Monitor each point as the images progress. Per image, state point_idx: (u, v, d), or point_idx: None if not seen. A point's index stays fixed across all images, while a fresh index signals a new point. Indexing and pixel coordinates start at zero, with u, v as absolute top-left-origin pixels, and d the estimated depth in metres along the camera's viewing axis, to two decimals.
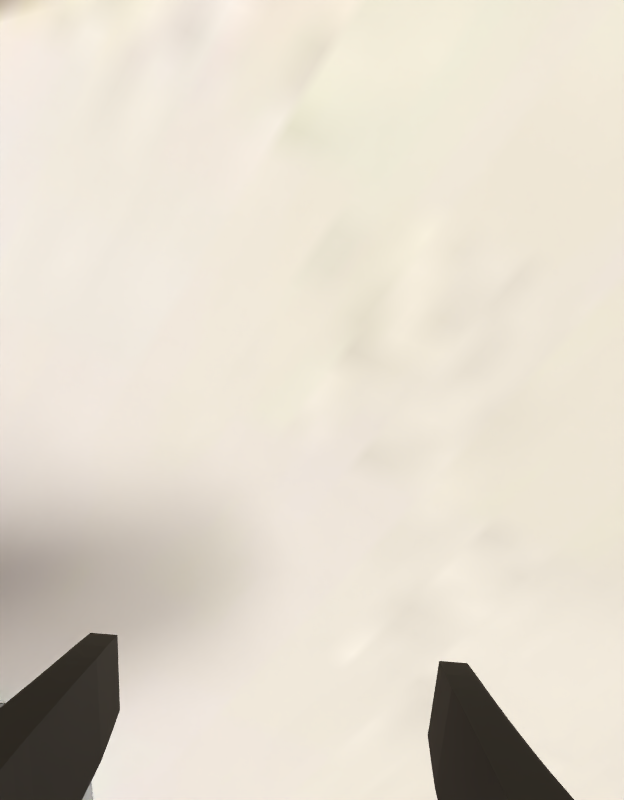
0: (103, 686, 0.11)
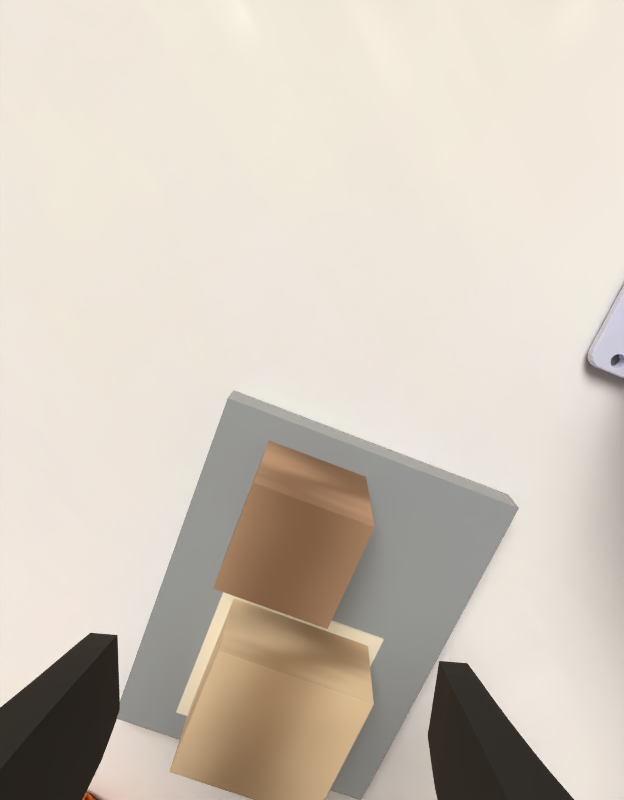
0: (103, 686, 0.11)
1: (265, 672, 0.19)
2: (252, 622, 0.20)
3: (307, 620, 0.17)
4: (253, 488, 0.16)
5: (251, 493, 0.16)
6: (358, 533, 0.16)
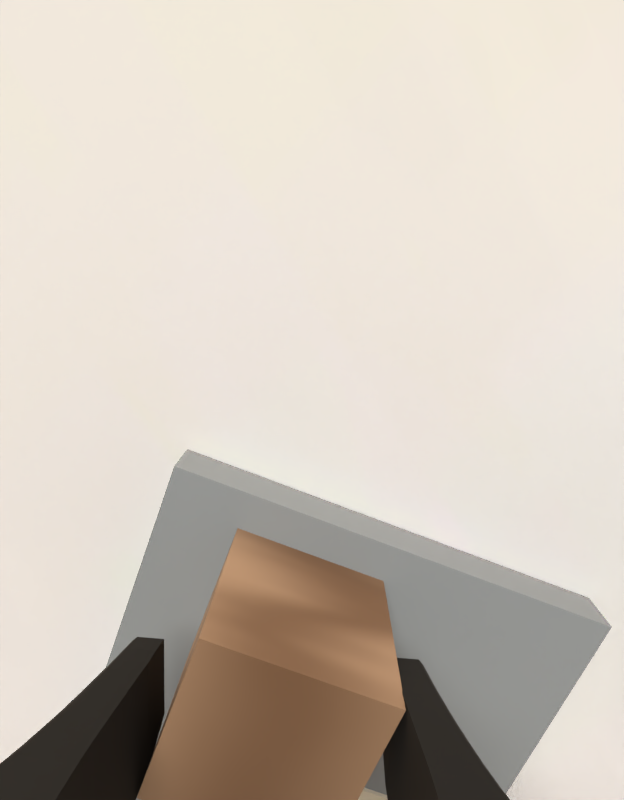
0: (152, 690, 0.11)
1: None
2: None
3: None
4: (198, 647, 0.09)
5: (195, 654, 0.09)
6: (378, 719, 0.09)
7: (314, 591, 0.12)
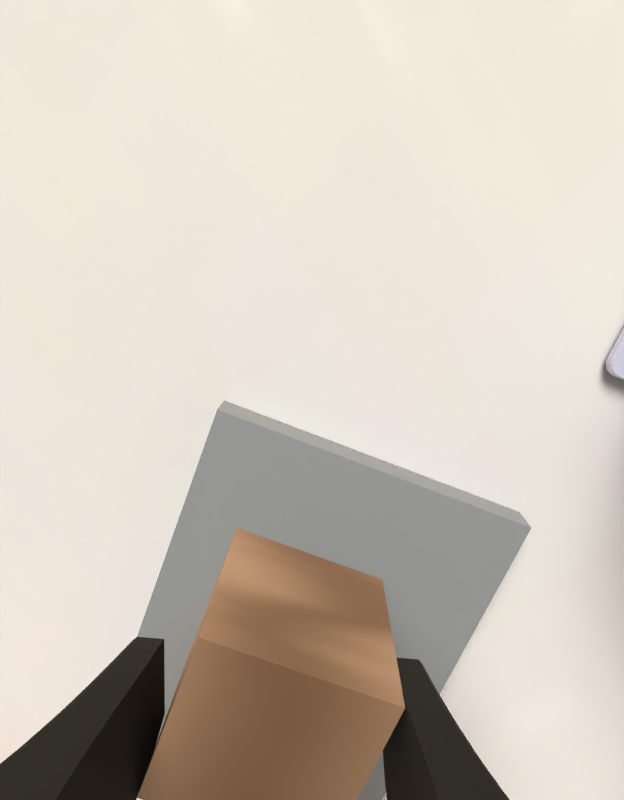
0: (152, 690, 0.11)
1: None
2: None
3: None
4: (198, 647, 0.09)
5: (195, 654, 0.09)
6: (377, 717, 0.10)
7: (313, 590, 0.12)
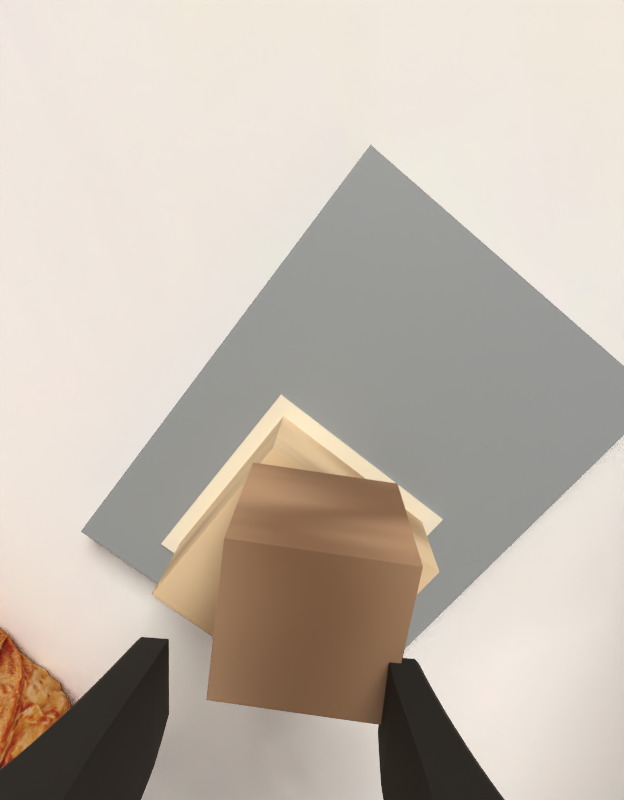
0: (157, 690, 0.11)
1: None
2: (304, 443, 0.16)
3: (354, 719, 0.11)
4: (225, 546, 0.10)
5: (224, 554, 0.10)
6: (400, 580, 0.10)
7: (330, 497, 0.13)
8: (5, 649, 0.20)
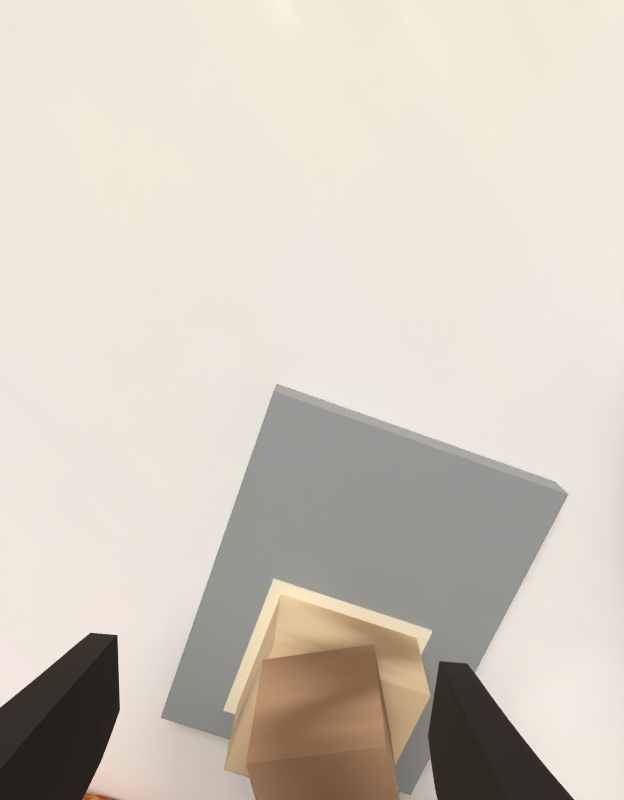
0: (103, 686, 0.11)
1: None
2: (301, 616, 0.20)
3: None
4: (248, 768, 0.15)
5: (250, 773, 0.15)
6: (374, 759, 0.14)
7: (321, 683, 0.17)
8: None
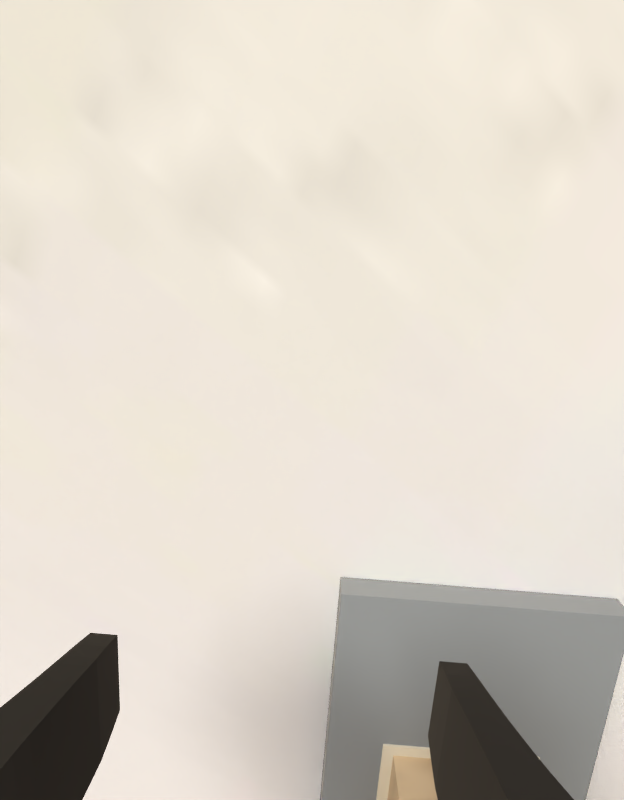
0: (103, 686, 0.11)
1: None
2: (418, 778, 0.22)
3: None
4: None
5: None
6: None
7: None
8: None
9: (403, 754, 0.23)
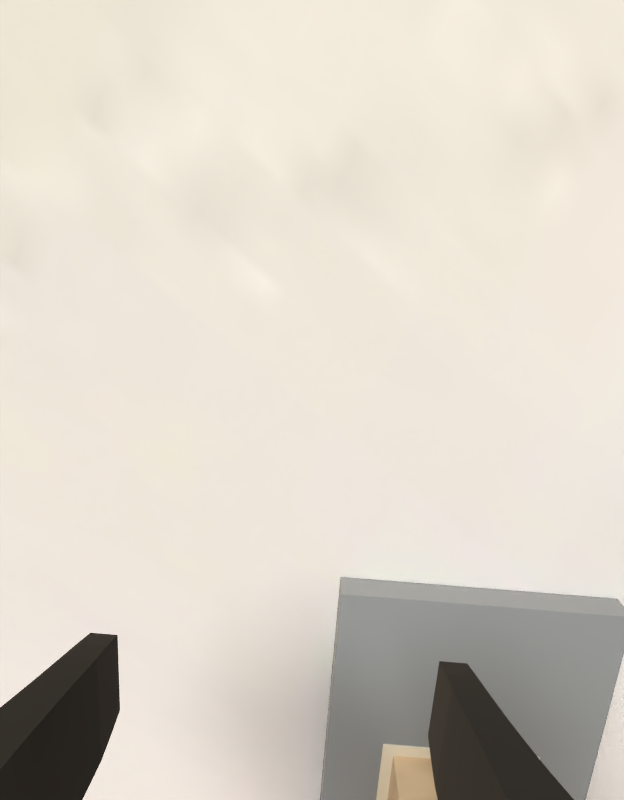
0: (103, 686, 0.11)
1: None
2: (418, 778, 0.22)
3: None
4: None
5: None
6: None
7: None
8: None
9: (403, 754, 0.23)
